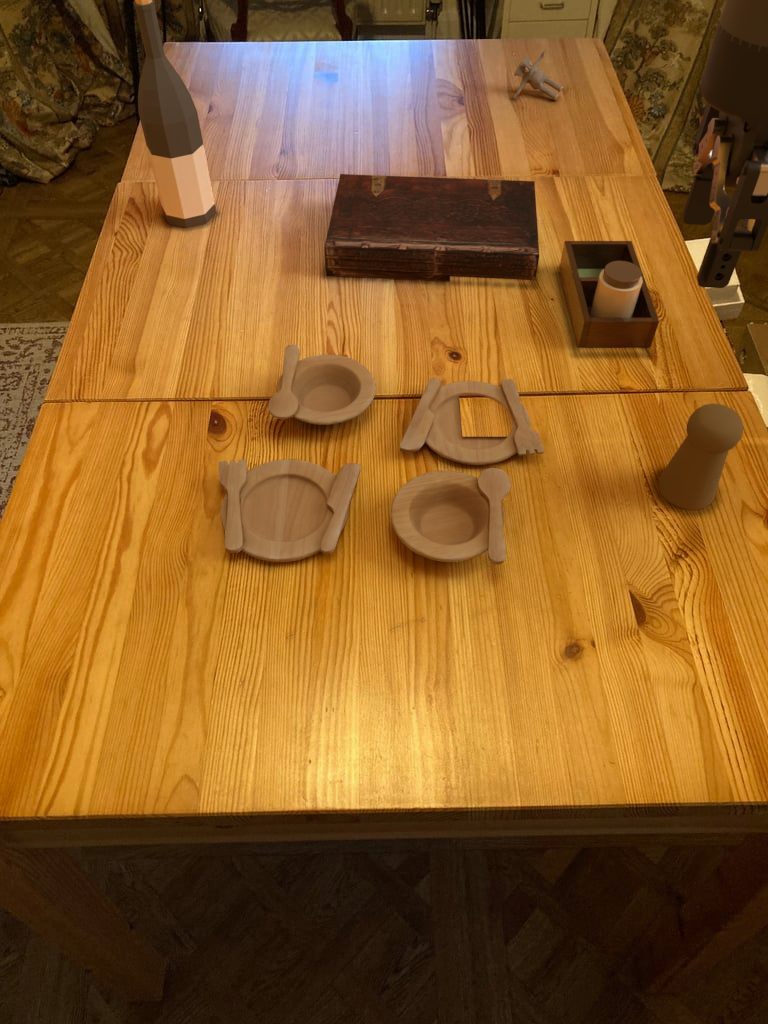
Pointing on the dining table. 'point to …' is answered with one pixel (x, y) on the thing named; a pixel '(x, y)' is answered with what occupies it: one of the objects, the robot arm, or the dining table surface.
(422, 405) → the tableware set
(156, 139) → the wine bottle
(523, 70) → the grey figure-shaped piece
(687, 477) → the pepper mill
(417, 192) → the hardback book
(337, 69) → the dining table surface
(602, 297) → the spice pot
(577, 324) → the box
